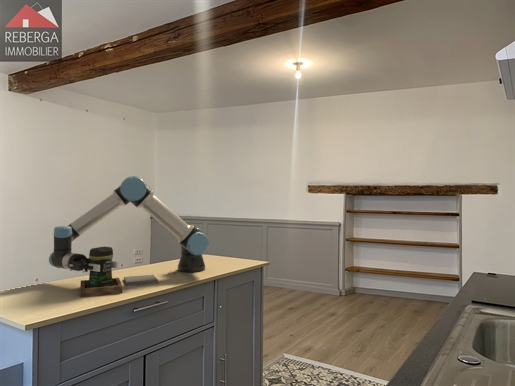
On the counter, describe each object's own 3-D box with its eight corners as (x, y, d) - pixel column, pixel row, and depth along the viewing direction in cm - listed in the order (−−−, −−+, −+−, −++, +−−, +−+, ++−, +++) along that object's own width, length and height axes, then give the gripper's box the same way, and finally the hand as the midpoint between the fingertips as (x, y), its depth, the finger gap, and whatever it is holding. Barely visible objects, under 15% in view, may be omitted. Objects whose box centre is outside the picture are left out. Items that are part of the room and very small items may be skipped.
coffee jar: (98, 293, 158) (99, 248, 158) (84, 291, 162) (85, 247, 162) (116, 288, 167) (116, 246, 167) (102, 286, 170) (103, 245, 171)
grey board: (153, 277, 191) (153, 274, 191) (158, 283, 179) (158, 279, 179) (123, 279, 185) (123, 276, 185) (126, 285, 173) (126, 282, 173)
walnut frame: (118, 284, 176) (118, 277, 176) (122, 293, 159) (122, 285, 159) (80, 287, 169) (80, 280, 169) (80, 297, 153) (80, 289, 153)
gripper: (95, 266, 183) (128, 271, 171) (52, 274, 164) (86, 280, 153) (95, 250, 183) (128, 254, 171) (53, 256, 165) (86, 261, 153)
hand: (108, 266), depth 162 cm, fingers closed on coffee jar, 8 cm apart
